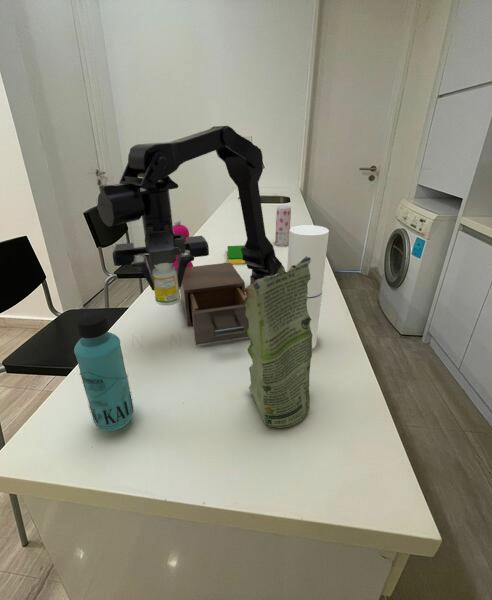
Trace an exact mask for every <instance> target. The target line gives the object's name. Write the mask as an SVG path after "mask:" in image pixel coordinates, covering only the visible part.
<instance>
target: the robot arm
mask: <svg viewBox="0 0 492 600" xmlns="http://www.w3.org/2000/svg"><path fill="white" fill-rule="evenodd" d="M212 152H215V153H216V155H217V157H218V158H219V159H220V160H221V161H222V162H224V165H225V167H226V170H227V173H228V176H229V178H230V179H231V180H232V181H233V183H234V184H235V186H236V187H237V191H238V196H239V203H240V208H241V212H242V219H243V223H244V231H245V236H246V242H245V244H244V245H245V246H244V247H242V248H241V251H242V254H243V260H244V261H245V263H244V264H246V267H247V269H248V270H251V274H250V276H249V277H250V279H249V280H250V282H249V283H250V284H249V286H250V285H251V284H253V282H254V281H255V280H257V279H260V278H263V277H264V276H274V275H275V274H276V273H277V272H278V271H279V269H280V268H281V266H282V265H283V263H282V262H281V261H280V260H279V258H278V257H277V256H276V252H275V249H274V245H273V244H272V242H271V240H269V238H268V237H267V235H266V229H265V223H264V215H263V207H262V201H261V194H260V187H259V181H260V179H261V178H262V177H261V176H262V174H263V171H264V166H263V165H264V161H263V151H262V149H261V148H260V147H258V145H255V144H253V142H252V141H250V140H249V139H247V138H246V137H244V136H242V135H241V134H239V133H237V132H236V130H234V128H232V127H231V126H229V125H216V126H214V125H213V126H212V127H210V128H209V129H206V130H203V131H199V132H197V133H193V134H190V135H187V136H184V137H181V138H178V139H175V140H172V141H167V142H152V143H149V142H148V143H139V144H135V145H133V146H131V147H130V149H129V153H128V157H127V164H126V166H125V168H124V170H123V173H122V175H121V177H120V180H119V182H118V183H115V184H100V185H99V188H98V189H99V192H100V193H98V196H97V204H96V208H97V211H98V215H99V217H100V219H101V220H102V222H103V223H104V224H105V226H107V227H109V228H111V227H115V226H118V225H123V224H127V223H132V222H136V221H140V220H142V221H141V222H142V226H143V231H144V232H143V233H144V234H143V235H144V244H145V246H139V247H135V244H134V242H126V243H125V242H124V243H117V244H115V245H114V247H113V250H112V260H113V261H112V262H113V264H114V266H115V267H123V266H129V265H130V266H131V268H133V269H135V268H137V269H138V270H139V271H140V272H141V273H142V275H143V276H144V278H145V280H146V281H147V283H148V285H149V287H150V289H151V290H152V291H154V284H153V278H152V271H151V269H150V268H151V267H150V265H153V266H154V265H159V264H161V263H174V262H175V261H176V255H178V283H179V287H181V284H182V280H183V276H184V272H185V269H186V267H187V265H188V263H189V262H190V261H191V262H194V261H195V258H200V257H201V258H202V257H208V256H209V255H210V248H209V243H208V241H207V240H206V238H205V237H204V236H203V235H194V236H189V237H186V242H185V240H184V235H183V234H179V235H174V231H173V226H174V224H173V215H172V206H171V197H170V196H171V195H170V190H174V189H175V190H176V189H178V188H179V184H178V183H177V182H176V181H174V180H172V178H171V176H170V175H172V174H173V173H175V172H176V171H177V170H178V169H179V168H180V166H181V165H183V164H184V163H187V162H189V161H192V160H194V159H196V158H199V157H201V156H205V155H207V154H210V153H212ZM148 257H149V261H148ZM149 264H150V265H149Z"/></svg>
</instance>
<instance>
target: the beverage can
mask: <svg viewBox="0 0 492 600" xmlns="http://www.w3.org/2000/svg"><path fill="white" fill-rule="evenodd" d="M291 216H292V207H291V205H277V207H276V216H275V218H276V220H275V236H274V237H275V239H274V243H275V244H276V246H278V247H279V246H280V247H285V246H289V230H290V228H291V218H292V217H291Z"/></svg>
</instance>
